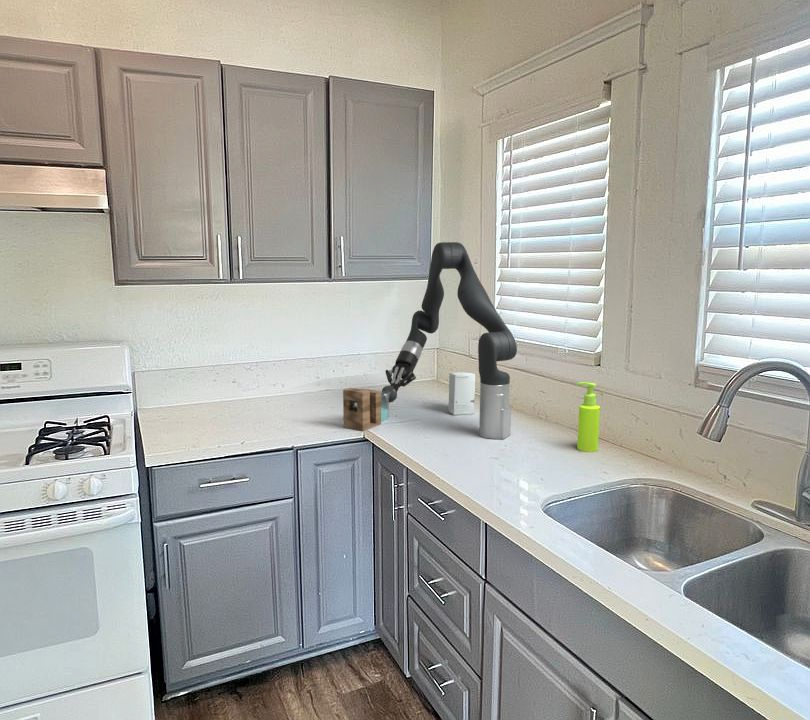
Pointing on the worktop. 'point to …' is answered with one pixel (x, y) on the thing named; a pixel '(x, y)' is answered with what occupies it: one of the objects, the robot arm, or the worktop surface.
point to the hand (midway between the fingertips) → (391, 394)
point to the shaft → (383, 397)
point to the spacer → (384, 414)
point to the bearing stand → (361, 408)
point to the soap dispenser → (588, 421)
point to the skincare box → (461, 393)
